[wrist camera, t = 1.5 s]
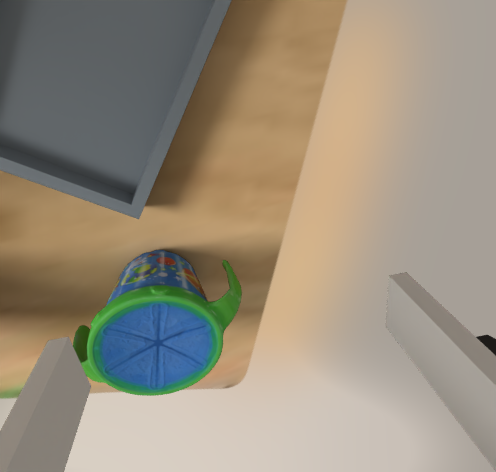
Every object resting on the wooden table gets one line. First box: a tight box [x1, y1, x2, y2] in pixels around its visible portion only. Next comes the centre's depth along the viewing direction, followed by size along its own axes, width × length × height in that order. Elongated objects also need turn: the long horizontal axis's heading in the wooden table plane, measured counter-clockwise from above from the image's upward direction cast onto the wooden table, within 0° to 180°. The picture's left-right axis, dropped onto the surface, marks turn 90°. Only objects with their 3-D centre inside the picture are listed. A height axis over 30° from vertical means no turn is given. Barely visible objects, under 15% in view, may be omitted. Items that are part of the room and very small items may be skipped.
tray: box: [0, 0, 231, 219], centre depth 25 cm, size 15×20×3 cm
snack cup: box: [73, 250, 242, 395], centre depth 32 cm, size 16×10×10 cm
